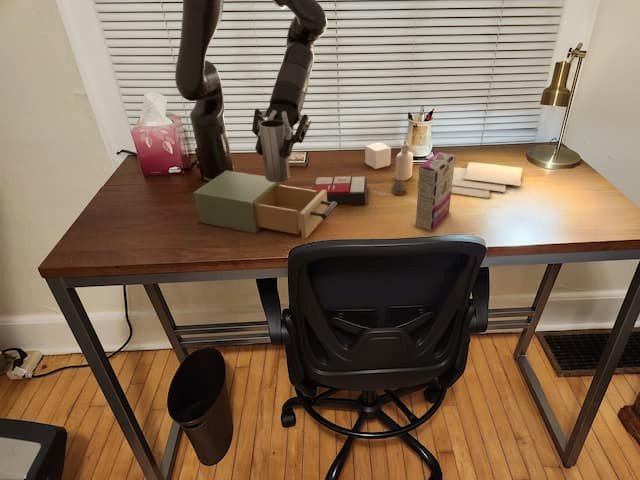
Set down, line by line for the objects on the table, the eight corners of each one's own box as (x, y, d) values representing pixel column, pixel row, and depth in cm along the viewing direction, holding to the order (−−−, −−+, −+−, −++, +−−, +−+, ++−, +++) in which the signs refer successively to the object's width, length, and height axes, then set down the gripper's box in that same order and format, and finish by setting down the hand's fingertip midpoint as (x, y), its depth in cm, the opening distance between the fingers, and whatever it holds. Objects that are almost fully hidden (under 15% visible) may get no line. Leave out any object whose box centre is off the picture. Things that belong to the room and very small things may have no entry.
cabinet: (283, 207, 121) (279, 178, 116) (256, 233, 110) (250, 202, 104) (231, 198, 125) (226, 170, 120) (200, 222, 114) (192, 192, 109)
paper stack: (518, 202, 122) (519, 199, 122) (430, 190, 129) (430, 188, 128) (521, 170, 140) (521, 168, 140) (443, 160, 146) (443, 158, 146)
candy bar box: (432, 208, 119) (438, 150, 110) (449, 213, 117) (456, 154, 108) (413, 226, 112) (418, 165, 102) (431, 231, 110) (438, 170, 100)
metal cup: (261, 180, 104) (253, 125, 97) (273, 171, 109) (266, 118, 101) (283, 183, 103) (277, 128, 95) (294, 174, 107) (289, 120, 99)
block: (403, 186, 131) (404, 180, 130) (405, 195, 126) (406, 189, 125) (391, 186, 131) (392, 180, 130) (393, 195, 126) (393, 189, 125)
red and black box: (315, 176, 129) (366, 174, 128) (317, 189, 131) (367, 187, 130) (310, 192, 120) (365, 190, 119) (312, 206, 122) (365, 205, 121)
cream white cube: (390, 165, 144) (391, 147, 141) (375, 169, 142) (375, 151, 138) (379, 159, 148) (380, 141, 145) (365, 163, 146) (365, 145, 142)
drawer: (342, 216, 115) (341, 192, 111) (322, 241, 105) (320, 216, 101) (276, 204, 120) (273, 181, 116) (250, 228, 110) (246, 203, 106)
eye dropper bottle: (392, 176, 137) (394, 138, 130) (410, 174, 138) (412, 137, 131) (396, 181, 134) (398, 143, 127) (414, 180, 135) (417, 141, 128)
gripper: (256, 76, 101) (236, 144, 99) (313, 82, 97) (293, 152, 95) (270, 94, 108) (252, 158, 106) (323, 100, 104) (305, 166, 102)
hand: (271, 155), depth 101 cm, fingers closed on metal cup, 6 cm apart
